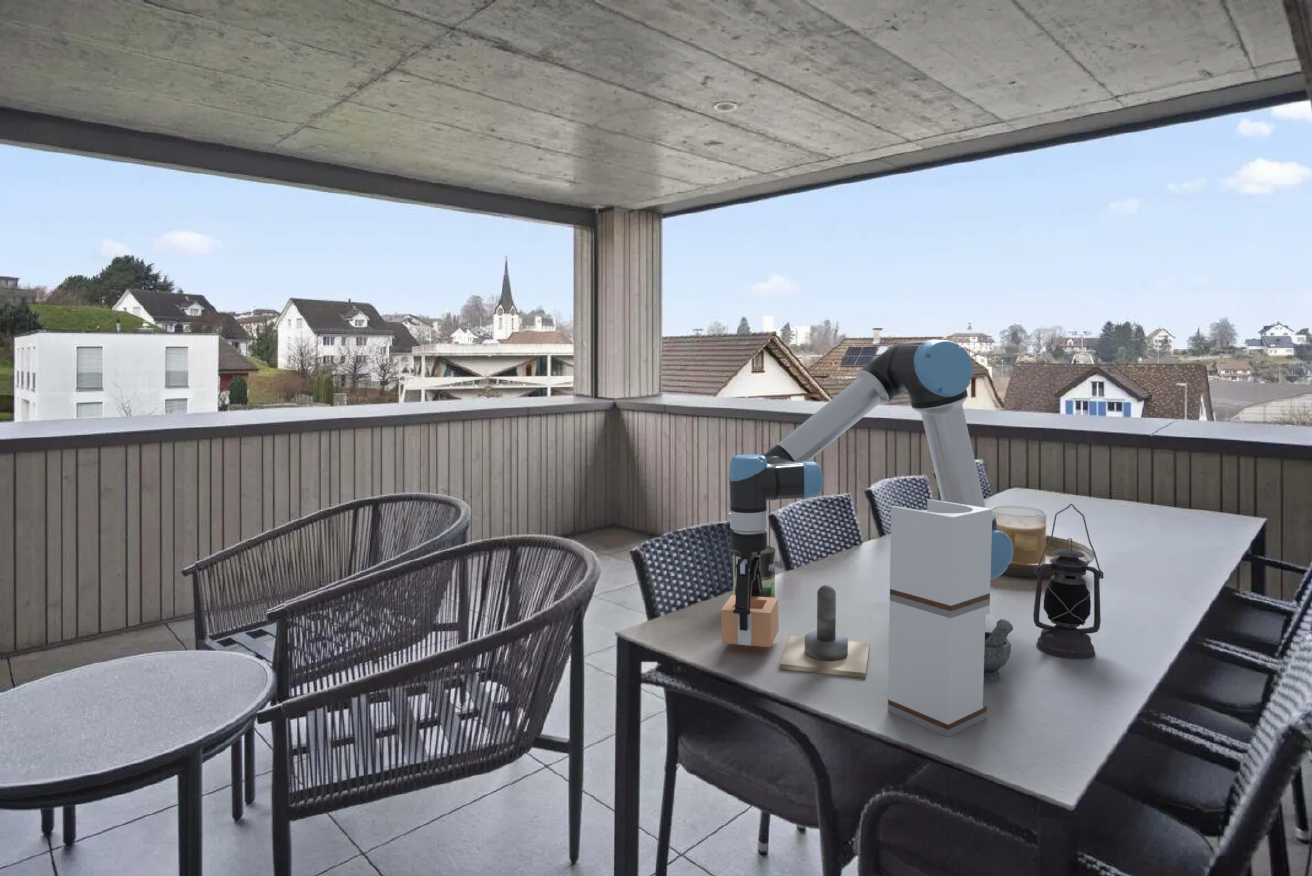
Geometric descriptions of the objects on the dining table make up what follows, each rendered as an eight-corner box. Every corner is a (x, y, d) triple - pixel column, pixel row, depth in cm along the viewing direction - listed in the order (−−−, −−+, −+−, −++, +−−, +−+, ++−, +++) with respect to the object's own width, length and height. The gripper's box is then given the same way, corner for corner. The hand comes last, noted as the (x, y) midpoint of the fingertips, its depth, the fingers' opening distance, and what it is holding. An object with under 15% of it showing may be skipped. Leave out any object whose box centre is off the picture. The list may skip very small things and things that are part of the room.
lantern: (1094, 643, 159) (1100, 500, 156) (1105, 662, 149) (1112, 509, 146) (1028, 637, 163) (1033, 497, 160) (1035, 655, 153) (1040, 506, 150)
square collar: (778, 629, 163) (778, 597, 162) (770, 647, 153) (770, 612, 153) (732, 626, 166) (731, 594, 165) (721, 642, 157) (721, 609, 156)
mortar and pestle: (942, 670, 146) (943, 608, 145) (977, 661, 150) (979, 601, 149) (990, 692, 136) (992, 626, 135) (1027, 682, 140) (1029, 618, 139)
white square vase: (986, 718, 126) (992, 508, 123) (947, 737, 120) (953, 517, 117) (926, 694, 136) (930, 499, 132) (887, 710, 130) (891, 506, 126)
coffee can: (776, 600, 191) (776, 544, 189) (774, 613, 181) (774, 554, 179) (734, 598, 193) (734, 543, 191) (730, 611, 183) (730, 553, 181)
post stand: (869, 647, 158) (870, 577, 157) (865, 678, 143) (866, 600, 142) (791, 640, 163) (791, 571, 162) (779, 668, 148) (779, 593, 147)
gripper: (741, 518, 169) (743, 616, 172) (718, 541, 148) (719, 653, 150) (775, 519, 167) (776, 618, 169) (756, 543, 146) (757, 657, 148)
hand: (749, 635), depth 160 cm, fingers closed on square collar, 10 cm apart
